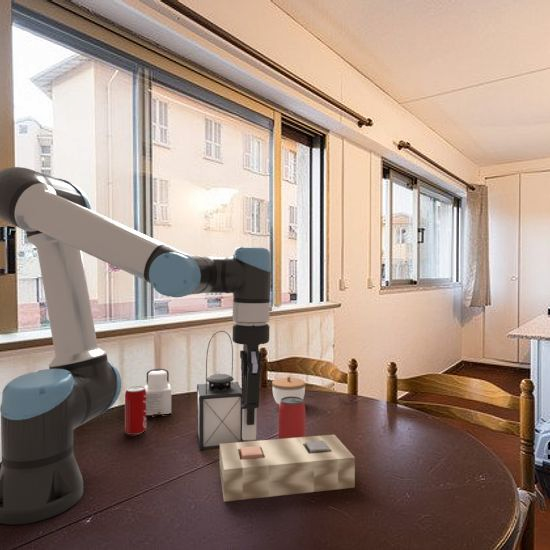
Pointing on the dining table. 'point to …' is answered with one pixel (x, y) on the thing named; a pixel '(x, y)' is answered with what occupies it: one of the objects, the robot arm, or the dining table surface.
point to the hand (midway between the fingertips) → (249, 438)
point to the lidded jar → (288, 388)
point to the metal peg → (316, 447)
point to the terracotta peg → (250, 452)
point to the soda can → (135, 410)
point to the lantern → (219, 410)
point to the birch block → (285, 468)
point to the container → (158, 392)
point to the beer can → (291, 417)
